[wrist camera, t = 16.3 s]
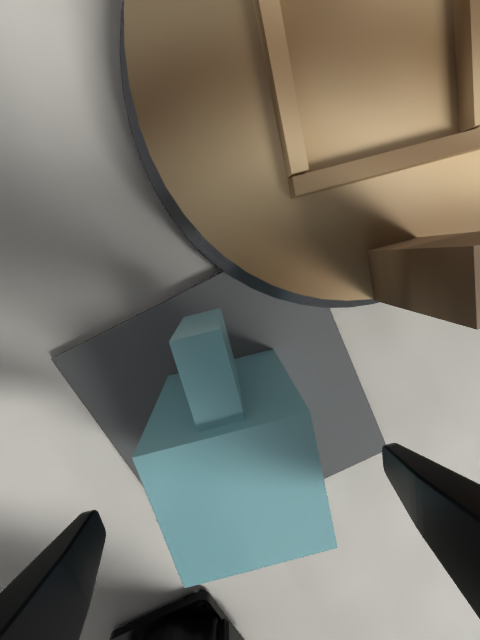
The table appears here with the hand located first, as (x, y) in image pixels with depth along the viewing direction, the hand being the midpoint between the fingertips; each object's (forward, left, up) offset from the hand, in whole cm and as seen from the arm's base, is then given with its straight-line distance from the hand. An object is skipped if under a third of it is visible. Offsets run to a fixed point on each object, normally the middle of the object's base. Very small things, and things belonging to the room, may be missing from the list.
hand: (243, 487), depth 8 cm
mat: (0, 0, -5) cm, 5 cm away
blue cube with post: (0, +1, -5) cm, 5 cm away
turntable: (+10, +10, -5) cm, 15 cm away
